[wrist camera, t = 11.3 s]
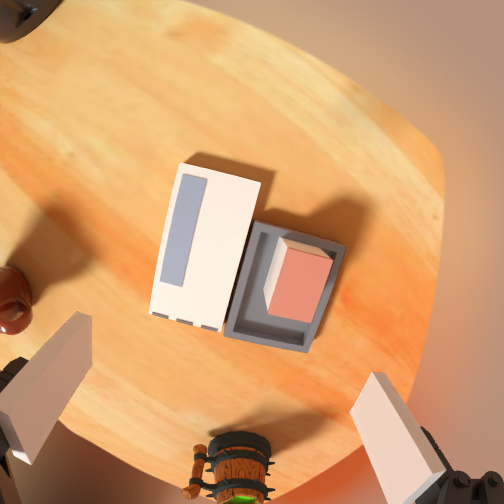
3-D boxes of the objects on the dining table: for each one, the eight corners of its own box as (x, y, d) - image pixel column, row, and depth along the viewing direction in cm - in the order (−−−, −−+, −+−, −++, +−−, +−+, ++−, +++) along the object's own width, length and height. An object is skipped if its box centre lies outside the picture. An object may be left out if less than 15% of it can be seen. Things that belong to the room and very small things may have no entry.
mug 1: (1, 310, 32) (-41, 340, 22) (-7, 253, 30) (-56, 274, 20) (60, 329, 33) (19, 370, 23) (54, 266, 31) (3, 296, 21)
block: (279, 235, 30) (288, 248, 25) (316, 245, 31) (333, 260, 25) (263, 289, 32) (268, 313, 26) (299, 297, 32) (310, 323, 26)
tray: (254, 219, 30) (255, 221, 29) (341, 243, 31) (346, 247, 30) (224, 328, 33) (223, 336, 31) (304, 345, 34) (307, 353, 32)
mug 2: (285, 440, 38) (295, 501, 27) (253, 472, 40) (256, 527, 29) (204, 414, 36) (196, 480, 25) (179, 450, 38) (168, 508, 27)
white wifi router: (182, 163, 29) (179, 162, 27) (260, 182, 30) (261, 182, 28) (152, 307, 32) (148, 313, 31) (221, 325, 33) (220, 332, 31)
